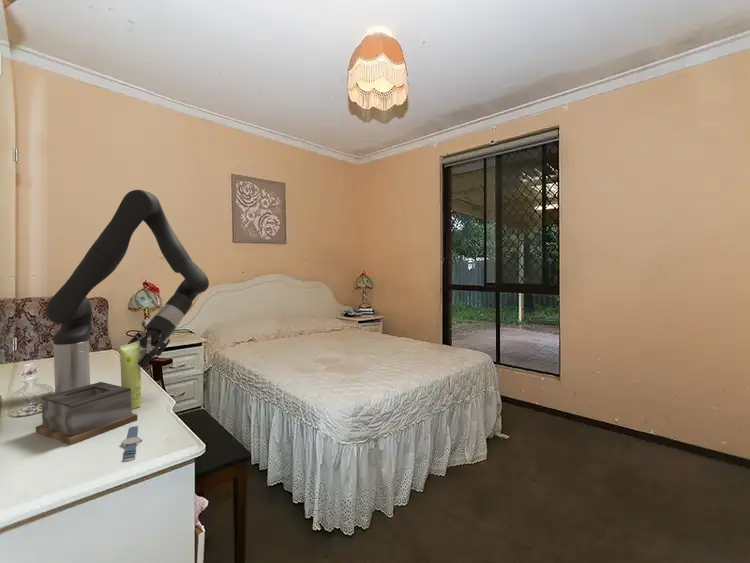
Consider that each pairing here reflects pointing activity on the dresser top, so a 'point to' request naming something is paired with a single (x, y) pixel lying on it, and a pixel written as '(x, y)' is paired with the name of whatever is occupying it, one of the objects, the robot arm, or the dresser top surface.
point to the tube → (131, 371)
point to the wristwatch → (131, 444)
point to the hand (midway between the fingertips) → (131, 364)
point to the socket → (85, 412)
